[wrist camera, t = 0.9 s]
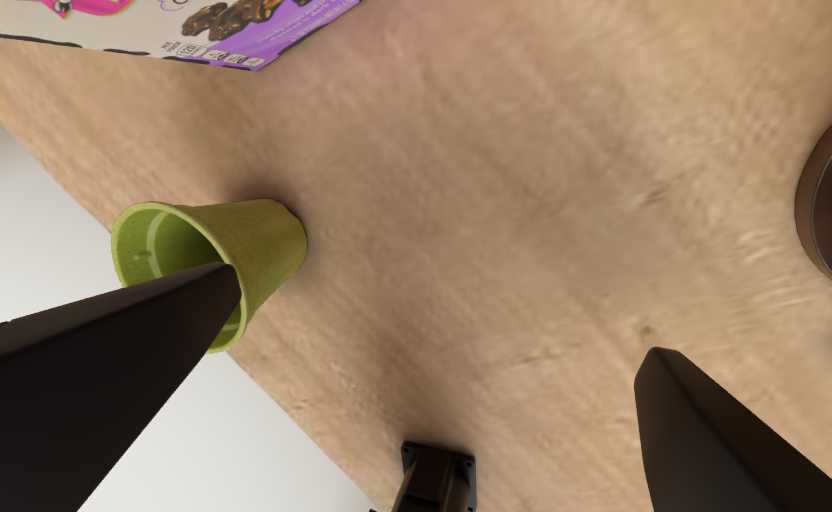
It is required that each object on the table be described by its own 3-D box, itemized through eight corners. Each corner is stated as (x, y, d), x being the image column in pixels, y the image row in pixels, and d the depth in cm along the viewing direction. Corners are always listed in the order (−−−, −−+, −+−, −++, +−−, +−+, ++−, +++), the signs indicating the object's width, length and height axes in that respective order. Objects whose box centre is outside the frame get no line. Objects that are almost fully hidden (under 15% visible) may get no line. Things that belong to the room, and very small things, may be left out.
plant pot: (314, 171, 25) (212, 199, 17) (338, 293, 28) (262, 363, 20) (212, 178, 28) (86, 205, 20) (244, 287, 31) (147, 346, 23)
